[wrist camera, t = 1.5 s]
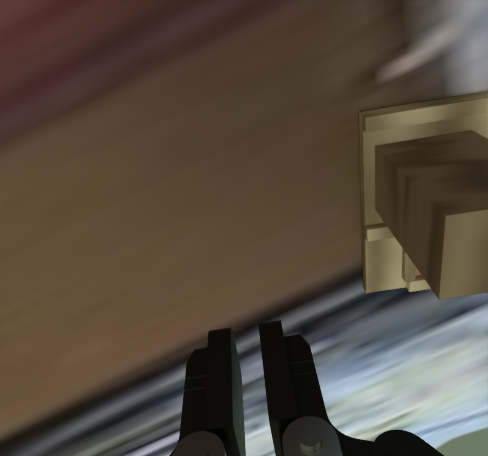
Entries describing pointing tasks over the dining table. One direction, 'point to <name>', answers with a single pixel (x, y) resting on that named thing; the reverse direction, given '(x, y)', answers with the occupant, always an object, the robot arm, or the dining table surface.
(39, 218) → the dining table surface
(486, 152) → the walnut block
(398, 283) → the tray
